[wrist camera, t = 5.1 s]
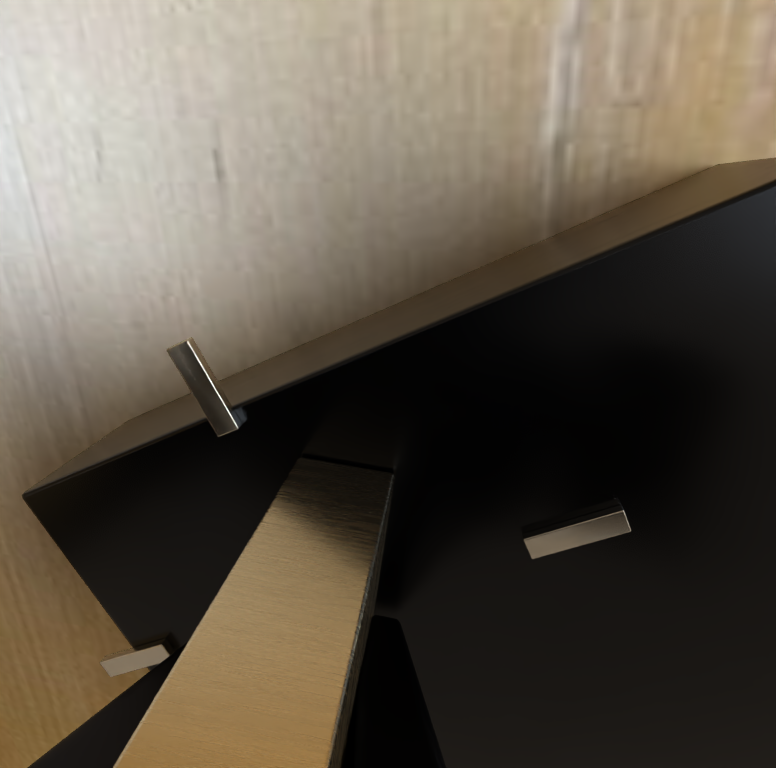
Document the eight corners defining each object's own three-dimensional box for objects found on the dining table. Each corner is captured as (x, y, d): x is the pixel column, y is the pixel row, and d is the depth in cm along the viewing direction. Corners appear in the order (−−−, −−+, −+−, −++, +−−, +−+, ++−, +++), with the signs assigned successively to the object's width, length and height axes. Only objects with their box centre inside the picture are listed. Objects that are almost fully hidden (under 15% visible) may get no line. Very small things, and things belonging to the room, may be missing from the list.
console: (377, 841, 15) (357, 999, 12) (77, 385, 11) (-61, 455, 8) (873, 766, 12) (1010, 955, 9) (703, 91, 8) (849, 30, 5)
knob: (357, 720, 9) (264, 1218, 5) (280, 704, 9) (117, 1176, 5) (395, 472, 7) (301, 897, 3) (298, 454, 7) (64, 841, 3)
